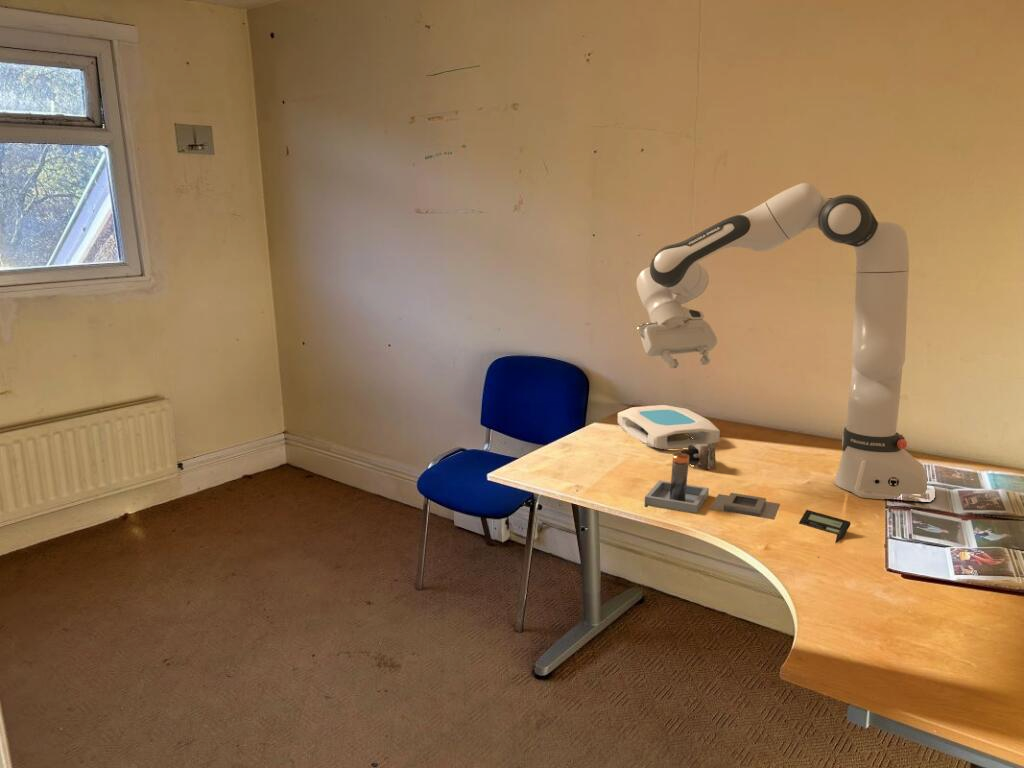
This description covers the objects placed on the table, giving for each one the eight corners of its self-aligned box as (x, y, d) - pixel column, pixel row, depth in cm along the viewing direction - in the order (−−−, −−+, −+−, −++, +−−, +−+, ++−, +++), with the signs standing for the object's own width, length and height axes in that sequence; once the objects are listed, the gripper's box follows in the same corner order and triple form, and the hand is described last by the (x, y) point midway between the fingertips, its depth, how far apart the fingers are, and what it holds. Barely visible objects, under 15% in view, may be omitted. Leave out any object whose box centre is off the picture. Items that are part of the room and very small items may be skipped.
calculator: (782, 537, 155) (783, 524, 155) (806, 521, 163) (807, 509, 163) (826, 551, 149) (827, 537, 148) (849, 534, 157) (850, 521, 156)
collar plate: (779, 506, 171) (780, 498, 171) (773, 521, 163) (774, 514, 162) (718, 496, 177) (718, 489, 177) (709, 511, 169) (709, 503, 168)
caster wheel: (687, 465, 207) (722, 466, 202) (673, 469, 197) (710, 469, 192) (686, 441, 207) (721, 441, 202) (672, 444, 198) (709, 444, 193)
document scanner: (654, 453, 211) (655, 432, 210) (616, 426, 237) (616, 407, 236) (720, 446, 216) (721, 426, 215) (676, 421, 243) (676, 403, 241)
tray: (708, 497, 177) (708, 487, 176) (696, 515, 166) (696, 505, 166) (659, 489, 182) (659, 480, 181) (644, 506, 172) (644, 496, 171)
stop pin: (687, 498, 175) (690, 454, 172) (683, 503, 172) (687, 459, 169) (671, 495, 176) (675, 451, 174) (667, 500, 173) (671, 456, 170)
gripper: (640, 316, 185) (661, 361, 178) (707, 311, 193) (729, 354, 186) (630, 331, 190) (650, 376, 183) (696, 326, 198) (717, 368, 191)
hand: (691, 365), depth 185 cm, fingers open, 8 cm apart
